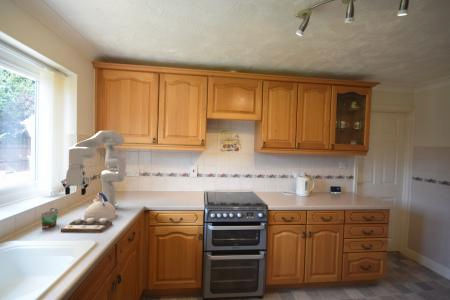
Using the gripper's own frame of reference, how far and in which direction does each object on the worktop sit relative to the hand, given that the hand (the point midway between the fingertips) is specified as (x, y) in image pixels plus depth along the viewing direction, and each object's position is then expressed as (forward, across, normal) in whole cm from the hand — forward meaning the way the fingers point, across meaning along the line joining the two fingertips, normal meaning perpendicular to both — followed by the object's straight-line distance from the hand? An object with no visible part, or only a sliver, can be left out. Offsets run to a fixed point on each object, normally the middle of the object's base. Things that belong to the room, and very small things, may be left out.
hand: (75, 194), depth 135 cm
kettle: (+21, -5, -19) cm, 29 cm away
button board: (+21, -8, 0) cm, 22 cm away
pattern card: (+19, -8, +4) cm, 21 cm away
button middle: (+17, -8, -2) cm, 19 cm away
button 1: (+18, 0, -2) cm, 18 cm away
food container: (+21, +16, -2) cm, 27 cm away
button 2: (+17, -16, -2) cm, 24 cm away
